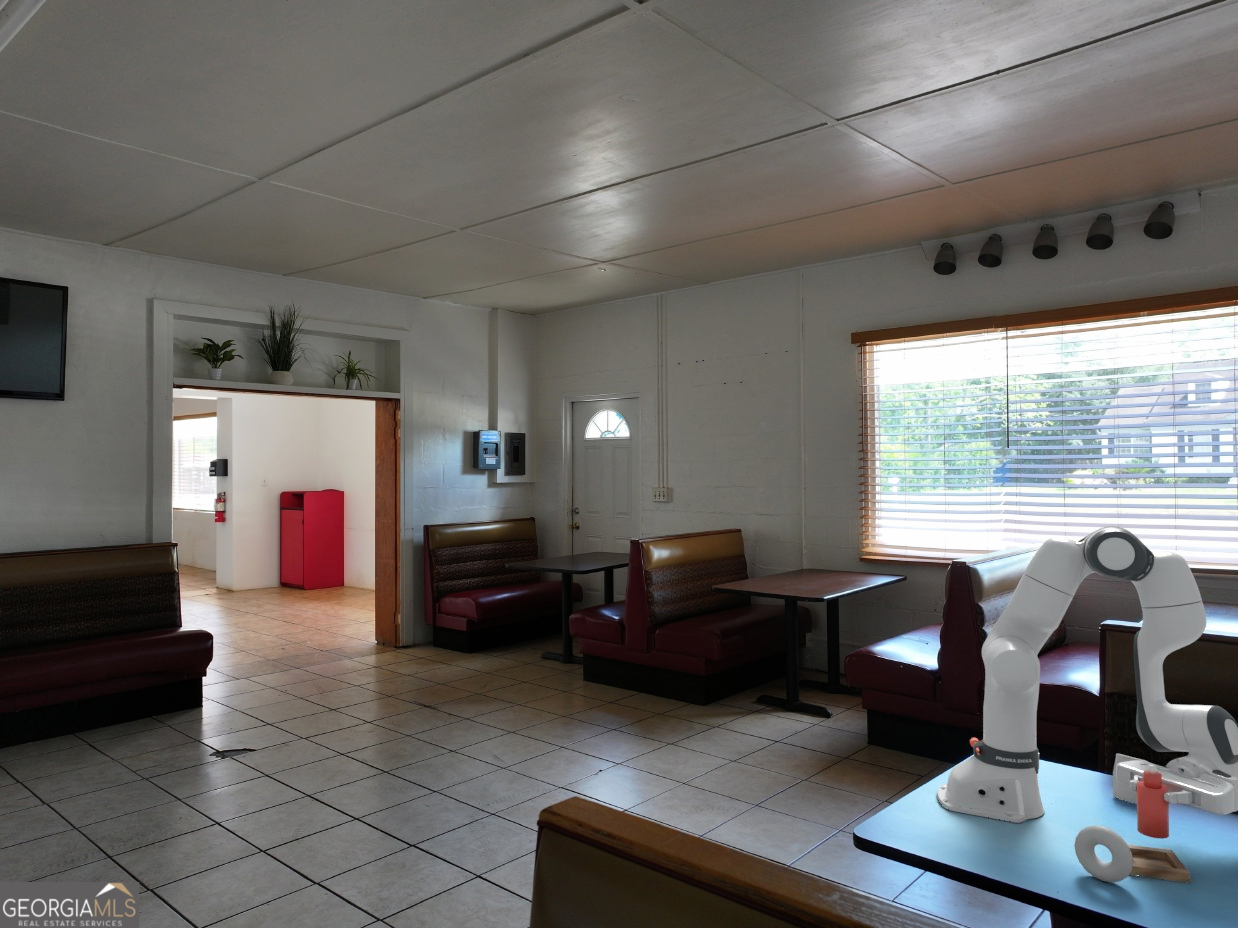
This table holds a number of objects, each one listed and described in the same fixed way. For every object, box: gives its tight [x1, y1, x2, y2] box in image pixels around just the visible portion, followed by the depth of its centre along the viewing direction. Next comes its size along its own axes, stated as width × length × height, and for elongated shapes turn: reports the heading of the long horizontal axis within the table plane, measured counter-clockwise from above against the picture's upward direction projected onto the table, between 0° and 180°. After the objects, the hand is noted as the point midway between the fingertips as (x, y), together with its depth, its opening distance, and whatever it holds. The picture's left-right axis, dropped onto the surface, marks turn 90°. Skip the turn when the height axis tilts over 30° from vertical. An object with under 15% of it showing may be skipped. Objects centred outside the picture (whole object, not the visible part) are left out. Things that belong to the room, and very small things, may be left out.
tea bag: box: [1112, 753, 1149, 805], centre depth 194 cm, size 4×7×10 cm, turn 37°
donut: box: [1074, 824, 1133, 884], centre depth 156 cm, size 10×4×10 cm, turn 39°
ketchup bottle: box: [1136, 764, 1170, 839], centre depth 162 cm, size 5×5×13 cm
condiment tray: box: [1127, 844, 1191, 884], centre depth 162 cm, size 10×10×2 cm
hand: (1149, 792), depth 161 cm, fingers closed on ketchup bottle, 5 cm apart
